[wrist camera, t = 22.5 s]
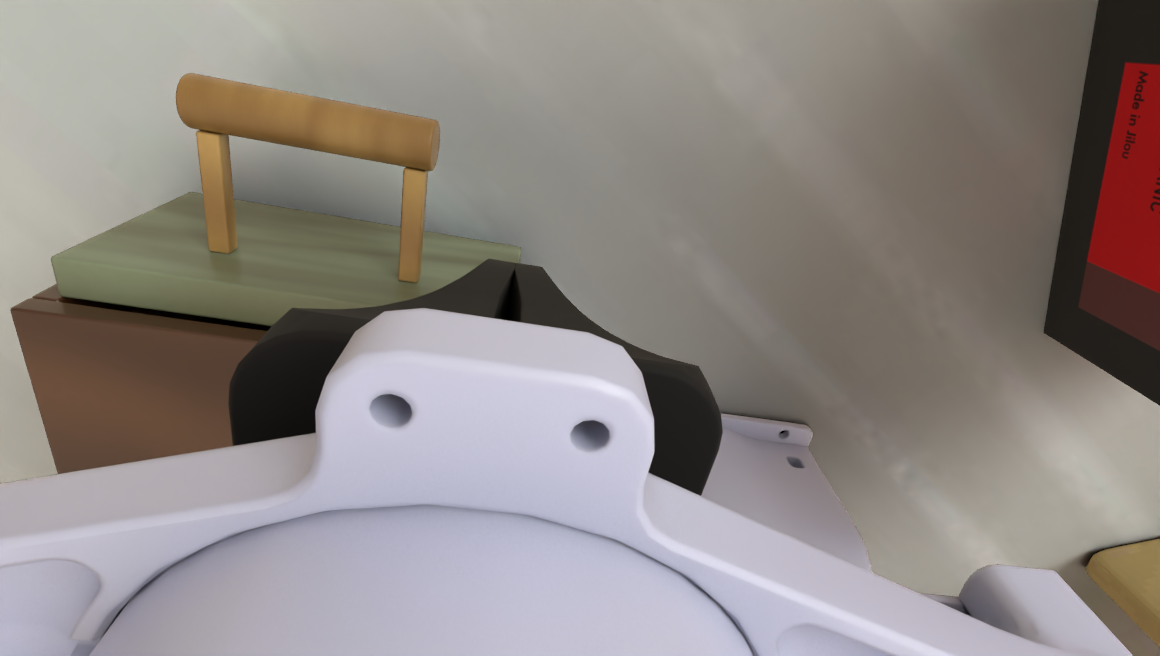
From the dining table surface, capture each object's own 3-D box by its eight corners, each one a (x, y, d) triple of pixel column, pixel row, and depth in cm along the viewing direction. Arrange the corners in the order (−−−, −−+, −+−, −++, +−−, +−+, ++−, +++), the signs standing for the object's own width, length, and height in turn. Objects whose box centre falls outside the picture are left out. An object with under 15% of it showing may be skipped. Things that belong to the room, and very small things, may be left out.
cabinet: (189, 212, 22) (7, 307, 15) (532, 268, 24) (524, 379, 17) (222, 490, 29) (108, 652, 21) (491, 518, 30) (471, 677, 23)
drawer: (172, 43, 19) (-2, 53, 13) (541, 116, 20) (538, 155, 14) (222, 469, 27) (131, 594, 21) (482, 498, 29) (465, 621, 23)
